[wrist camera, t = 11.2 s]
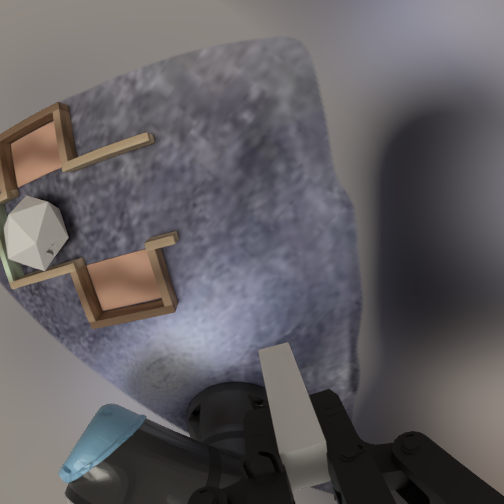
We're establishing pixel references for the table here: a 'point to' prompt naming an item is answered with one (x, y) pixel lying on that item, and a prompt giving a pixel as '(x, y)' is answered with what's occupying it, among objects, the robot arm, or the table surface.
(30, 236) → the die
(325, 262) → the table surface
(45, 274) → the channel
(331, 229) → the table surface
